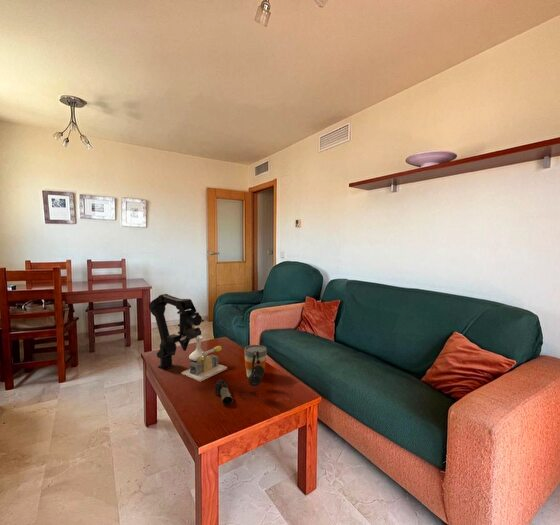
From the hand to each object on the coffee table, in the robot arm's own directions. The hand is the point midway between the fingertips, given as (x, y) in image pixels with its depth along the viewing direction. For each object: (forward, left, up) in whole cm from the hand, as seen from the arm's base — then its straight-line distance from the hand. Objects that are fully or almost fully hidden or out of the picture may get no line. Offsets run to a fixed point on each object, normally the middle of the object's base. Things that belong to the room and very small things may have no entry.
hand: (184, 350), depth 160 cm
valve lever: (+6, +14, -5) cm, 16 cm away
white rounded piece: (-10, +18, -13) cm, 24 cm away
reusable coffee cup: (+32, +22, -13) cm, 41 cm away
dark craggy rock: (+33, -5, -14) cm, 36 cm away
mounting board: (+6, +9, -13) cm, 17 cm away
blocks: (+6, +9, -13) cm, 17 cm away
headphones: (+42, +6, -13) cm, 44 cm away
